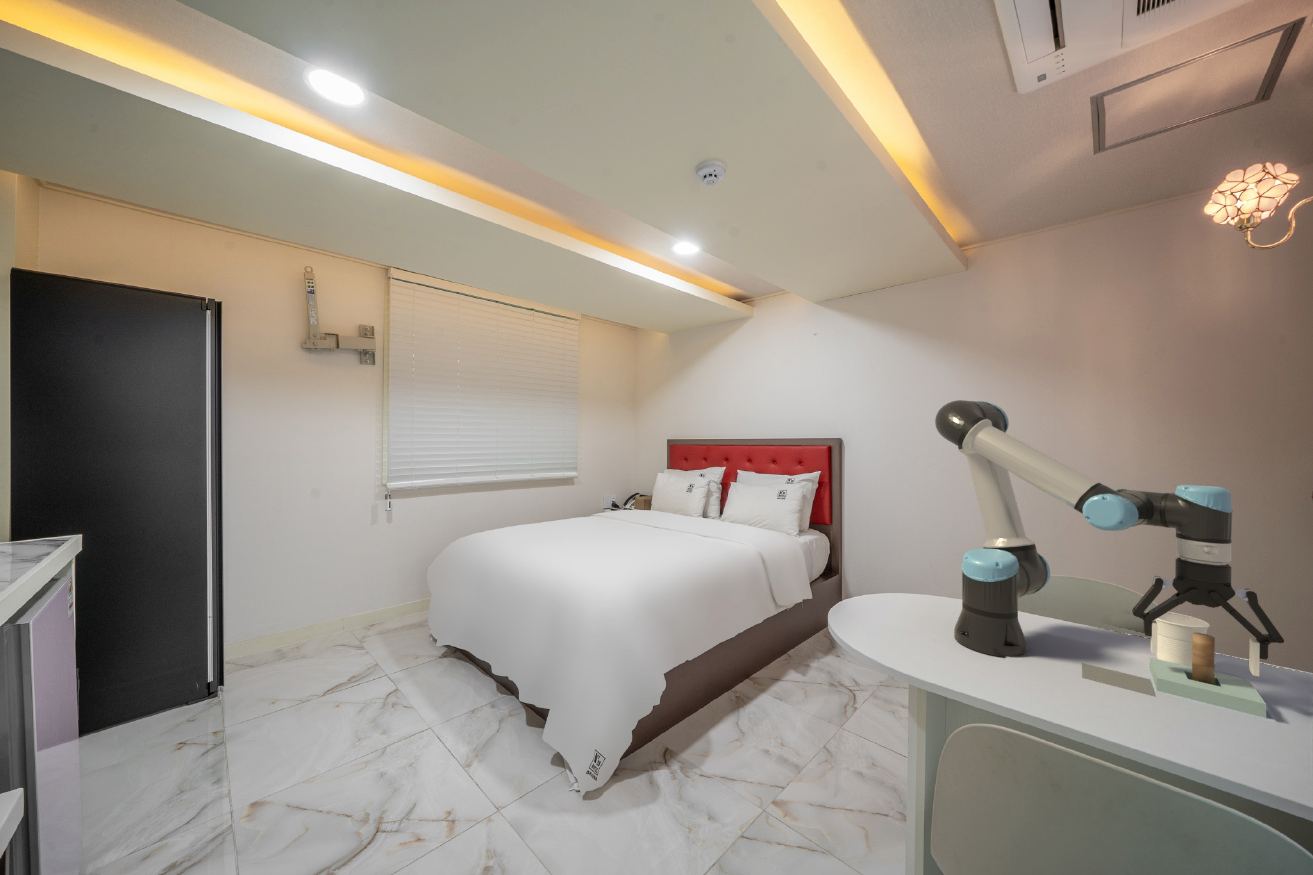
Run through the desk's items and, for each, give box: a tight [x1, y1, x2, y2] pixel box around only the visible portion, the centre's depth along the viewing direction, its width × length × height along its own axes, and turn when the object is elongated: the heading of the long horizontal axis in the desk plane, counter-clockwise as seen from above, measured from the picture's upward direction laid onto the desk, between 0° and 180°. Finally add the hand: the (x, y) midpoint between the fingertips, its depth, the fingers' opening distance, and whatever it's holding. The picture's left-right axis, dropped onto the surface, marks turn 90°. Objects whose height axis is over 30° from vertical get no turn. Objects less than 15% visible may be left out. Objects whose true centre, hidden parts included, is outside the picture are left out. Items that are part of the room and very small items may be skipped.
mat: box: [1081, 662, 1156, 698], centre depth 101 cm, size 11×9×1 cm
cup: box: [1146, 610, 1211, 667], centre depth 108 cm, size 10×10×11 cm
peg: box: [1192, 633, 1216, 685], centre depth 96 cm, size 3×3×12 cm
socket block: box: [1149, 657, 1267, 719], centre depth 96 cm, size 14×12×3 cm
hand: (1201, 662), depth 96 cm, fingers open, 13 cm apart
